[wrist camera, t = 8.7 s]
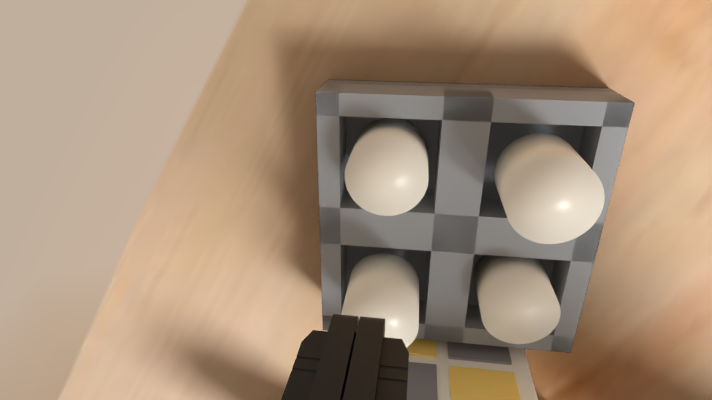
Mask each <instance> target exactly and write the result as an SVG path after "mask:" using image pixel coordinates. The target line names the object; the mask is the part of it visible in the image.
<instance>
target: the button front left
mask: <svg viewBox="0 0 712 400" xmlns="http://www.w3.org/2000/svg"><path fill="white" fill-rule="evenodd" d="M428 179H429V175H428V148H427V143H426V140H425V138H424V136H423V134H422V133H421V132H420V130H419V129H418V128H417V127H416V126H414V125H413V124H412V123H410V122H408V121H406V120H403V119H398V118H381V119H378V120H376V121H373V122H372V123H370V124H368V125H367V126H366V127H365V128H364V129H363V130H362V131H361V133H360V134H359V136H358V138H357V140H356V143H355V145H354V147H353V150H352V152H351V155H350V157H349V159H348V162H347V165H346V168H345V184H346V187H347V190H348V192H349V194H350V196H351V197H352V199H353V200H354V201H355V202H356V203H357V204H358V205H359V206H360V207H361V208H363V209H364V210H366V211H368V212H370V213H373V214H377V215H382V216H394V215H399V214H402V213H405V212H407V211H409V210H411V209H412V208H413V207H415V206H416V205H417V204H418V203H419V202H420V201H421V199H422V198H423V196H424V195H425V192H426V190H427V187H428Z"/></svg>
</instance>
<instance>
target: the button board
mask: <svg viewBox="0 0 712 400" xmlns="http://www.w3.org/2000/svg"><path fill="white" fill-rule="evenodd" d="M633 107H634V102H632V101H630V100H629V99H627V98H625V97H624V96H622V95H620V94H618V93H617V92H615V91H613V90H612V89H610V88H584V87H551V86H518V85H485V84H453V83H420V82H387V81H354V80H327V81H326V82H325V83H324V84H323V85H322V86H321V87H320V88H319V89H318V90H317V91H316V120H317V153H318V186H319V218H320V251H321V284H322V316H323V330H326V331H328V329H329V326H330V322H331V319H332V316H333V314H340V315H341V312H342V308H343V304H344V300H345V296H346V292H347V288H348V284H349V280H350V275H351V272H352V270H353V268H354V266H355V265H356V264H357V263H358V262H359V261H360V260H361V259H363V258H364V257H366V256H369V255H372V254H376V253H388V254H393V255H396V256H399V257H401V258H403V259H405V260H406V261H407V262H409V263H410V264H411V265H412V266H413V268H414V269H415V270H416V272H417V275H418V278H419V329H418V333H417V336H416V338H415V340H414V341H413V342H412V343H411V344H410V345H409V346H408V347H407V350H408V352H409V363H408V382H407V400H538V398H537V394H536V390H535V387H534V383H533V379H532V376H531V372H530V369H529V365H528V361H527V358H526V354H525V350H524V349H534V350H545V351H556V352H566V353H571V349H572V345H573V341H574V338H575V334H576V330H577V326H578V322H579V318H580V314H581V310H582V306H583V302H584V298H585V295H586V291H587V287H588V283H589V279H590V275H591V271H592V267H593V263H594V259H595V255H596V252H597V248H598V244H599V240H600V236H601V232H602V228H603V224H604V220H605V216H606V213H607V209H608V205H609V201H610V197H611V193H612V189H613V185H614V181H615V177H616V173H617V170H618V166H619V162H620V158H621V154H622V150H623V146H624V142H625V138H626V134H627V130H628V127H629V123H630V119H631V115H632V111H633ZM381 118H398V119H403V120H406V121H408V122H410V123H412V124H413V125H414V126H416V127H417V128H418V129H419V130H420V132H421V133H422V134H423V136H424V138H425V140H426V143H427V148H428V175H429V179H428V187H427V190H426V192H425V195H424V196H423V198H422V199H421V201H420V202H419V203H418V204H417V205H416V206H415V207H413V208H412V209H411V210H409V211H407V212H405V213H402V214H399V215H394V216H382V215H377V214H373V213H370V212H368V211H366V210H364V209H363V208H361V207H360V206H359V205H358V204H357V203H356V202H355V201H354V200H353V199H352V197H351V196H350V194H349V192H348V190H347V187H346V184H345V168H346V165H347V162H348V159H349V157H350V155H351V152H352V150H353V147H354V145H355V143H356V140H357V138H358V136H359V134H360V133H361V131H362V130H363V129H364V128H365V127H366V126H367V125H368V124H370V123H372V122H373V121H376V120H378V119H381ZM534 133H548V134H553V135H556V136H558V137H560V138H562V139H564V140H565V141H566V142H568V143H569V144H570V145H571V146H572V147H573V149H574V150H575V151H576V152H577V153H578V154H579V155H580V156H581V157H582V159H583V160H584V161H585V162H586V163H587V164H588V165H589V166H590V168H591V169H592V170H593V171H594V172H595V173H596V174H597V176H598V177H599V179H600V180H601V182H602V185H603V188H604V194H605V201H604V206H603V209H602V212H601V214H600V216H599V218H598V219H597V221H596V222H595V223H594V225H593V226H592V227H591V228H590V229H589V230H588V231H586V232H585V233H584V234H582V235H580V236H579V237H577V238H575V239H572V240H570V241H567V242H563V243H558V244H541V243H536V242H533V241H530V240H528V239H526V238H524V237H522V236H521V235H520V234H518V233H517V232H516V231H515V230H514V229H513V227H512V226H511V224H510V223H509V221H508V218H507V216H506V213H505V210H504V207H503V204H502V201H501V199H500V196H499V193H498V190H497V187H496V184H495V180H494V169H495V165H496V162H497V159H498V157H499V156H500V154H501V153H502V151H503V150H504V149H505V148H506V147H507V146H508V145H509V144H510V143H512V142H513V141H515V140H516V139H518V138H520V137H523V136H525V135H529V134H534ZM484 255H493V256H508V257H522V258H536V259H540V260H541V262H542V264H543V266H544V269H545V271H546V273H547V276H548V278H549V281H550V283H551V285H552V288H553V290H554V292H555V295H556V297H557V300H558V302H559V305H560V309H561V314H560V319H559V322H558V324H557V326H556V327H555V329H554V330H553V331H552V332H551V333H550V334H549V335H547V336H546V337H544V338H542V339H540V340H538V341H535V342H532V343H527V344H512V343H507V342H504V341H501V340H499V339H497V338H495V337H494V336H492V335H491V334H490V333H489V332H488V331H487V330H486V328H485V327H484V325H483V323H482V319H481V313H480V307H479V302H478V296H477V290H476V284H475V277H474V274H475V269H476V266H477V264H478V262H479V261H480V260H481V258H482V257H483V256H484Z"/></svg>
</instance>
